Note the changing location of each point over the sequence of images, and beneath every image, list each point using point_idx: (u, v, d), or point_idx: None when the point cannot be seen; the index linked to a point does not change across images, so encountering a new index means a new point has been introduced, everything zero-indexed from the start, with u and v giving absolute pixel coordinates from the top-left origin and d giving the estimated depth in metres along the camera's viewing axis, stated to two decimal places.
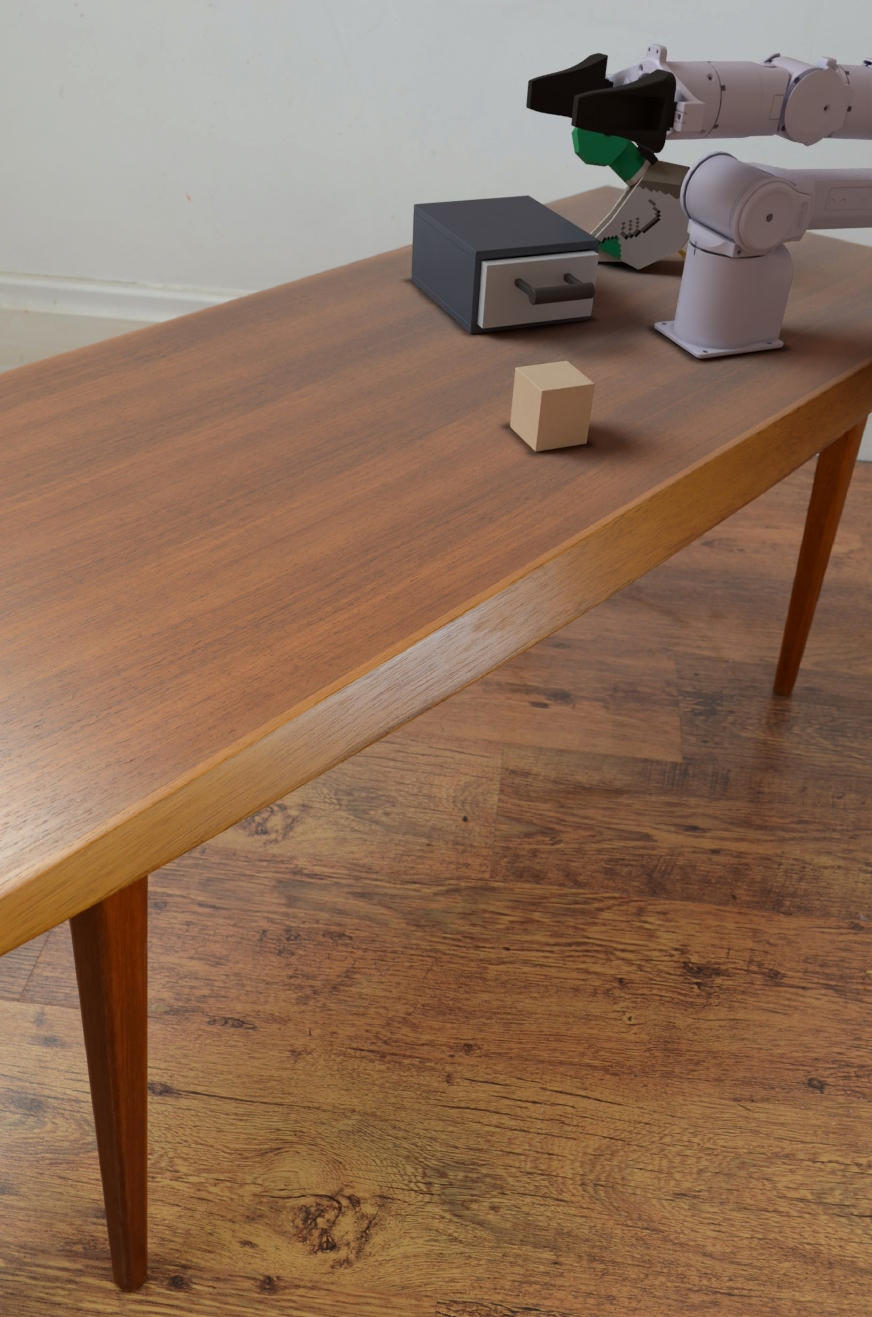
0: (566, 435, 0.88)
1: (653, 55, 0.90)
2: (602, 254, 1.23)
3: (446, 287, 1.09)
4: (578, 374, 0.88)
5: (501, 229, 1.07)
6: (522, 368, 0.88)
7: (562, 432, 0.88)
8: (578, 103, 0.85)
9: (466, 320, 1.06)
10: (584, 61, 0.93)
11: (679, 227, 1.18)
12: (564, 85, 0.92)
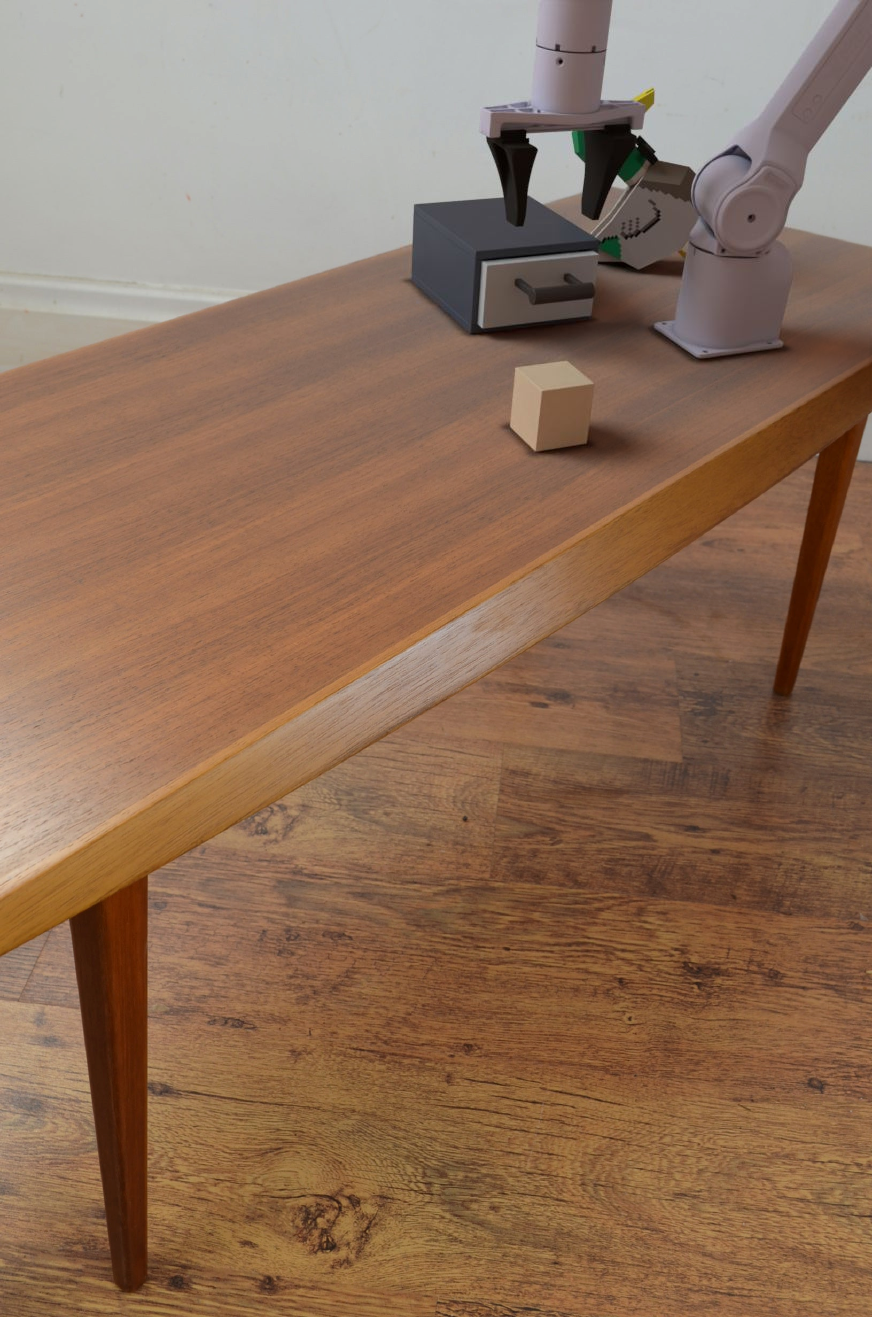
0: (566, 435, 0.88)
1: None
2: (602, 254, 1.23)
3: (446, 287, 1.09)
4: (578, 374, 0.88)
5: (501, 229, 1.07)
6: (522, 368, 0.88)
7: (562, 432, 0.88)
8: (508, 220, 1.00)
9: (466, 320, 1.06)
10: None
11: (679, 227, 1.18)
12: (589, 179, 1.00)
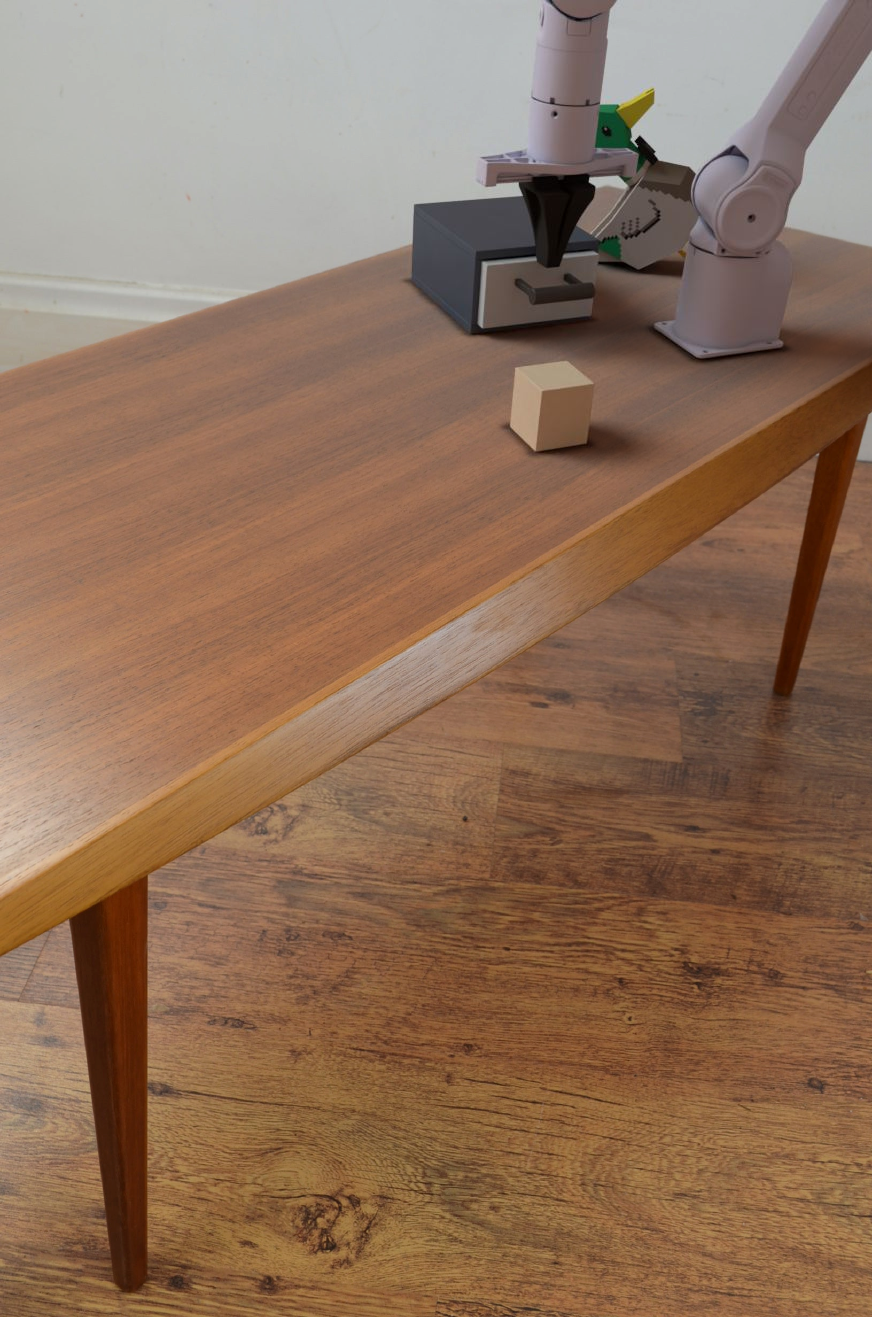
0: (566, 435, 0.88)
1: None
2: (602, 254, 1.23)
3: (446, 287, 1.09)
4: (578, 374, 0.88)
5: (501, 229, 1.07)
6: (522, 368, 0.88)
7: (562, 432, 0.88)
8: (538, 261, 1.03)
9: (466, 320, 1.06)
10: None
11: (679, 227, 1.18)
12: None
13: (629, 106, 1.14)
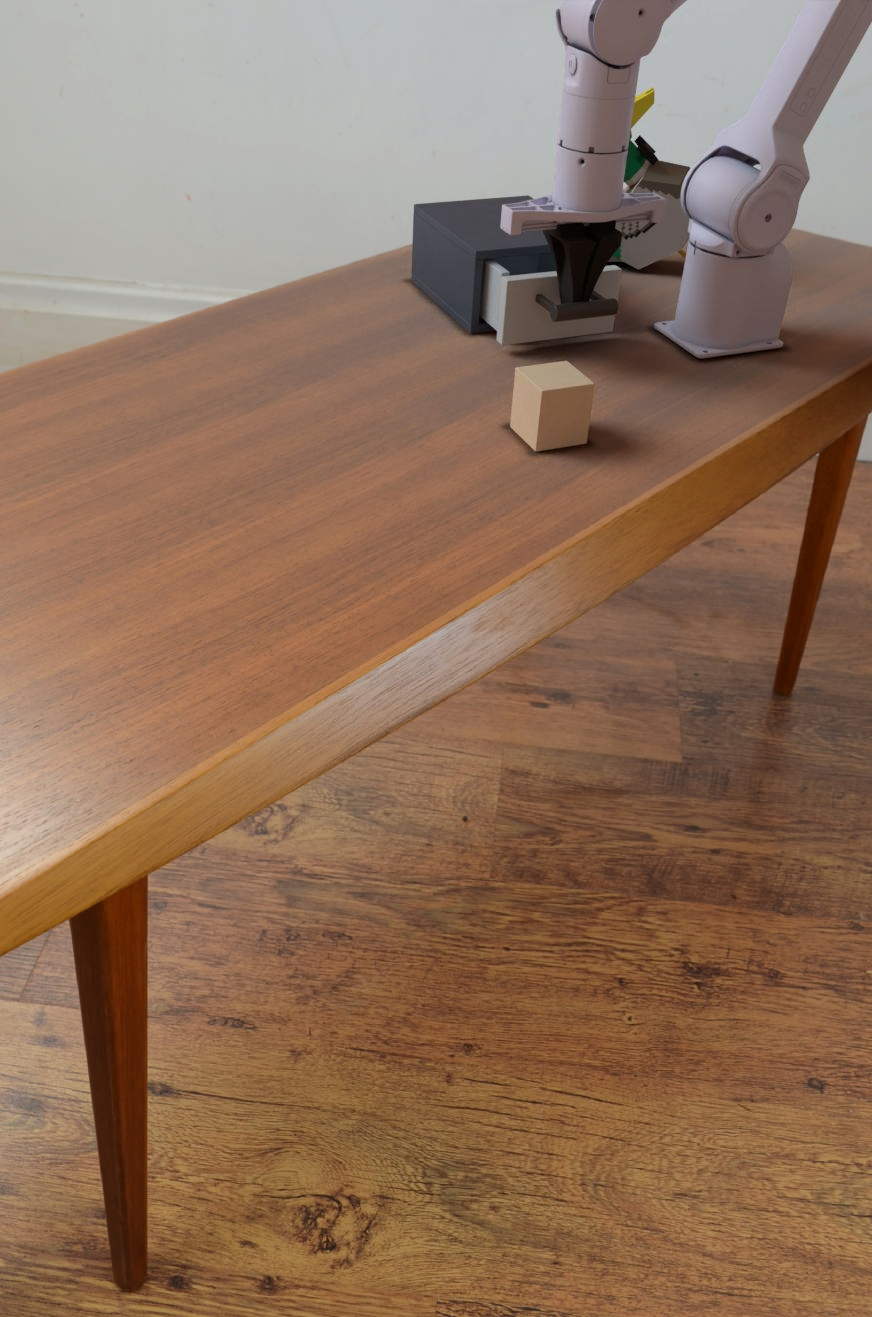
0: (566, 435, 0.88)
1: None
2: None
3: (446, 287, 1.09)
4: (578, 374, 0.88)
5: (501, 229, 1.07)
6: (522, 368, 0.88)
7: (562, 432, 0.88)
8: None
9: (466, 320, 1.06)
10: None
11: (679, 227, 1.18)
12: None
13: None
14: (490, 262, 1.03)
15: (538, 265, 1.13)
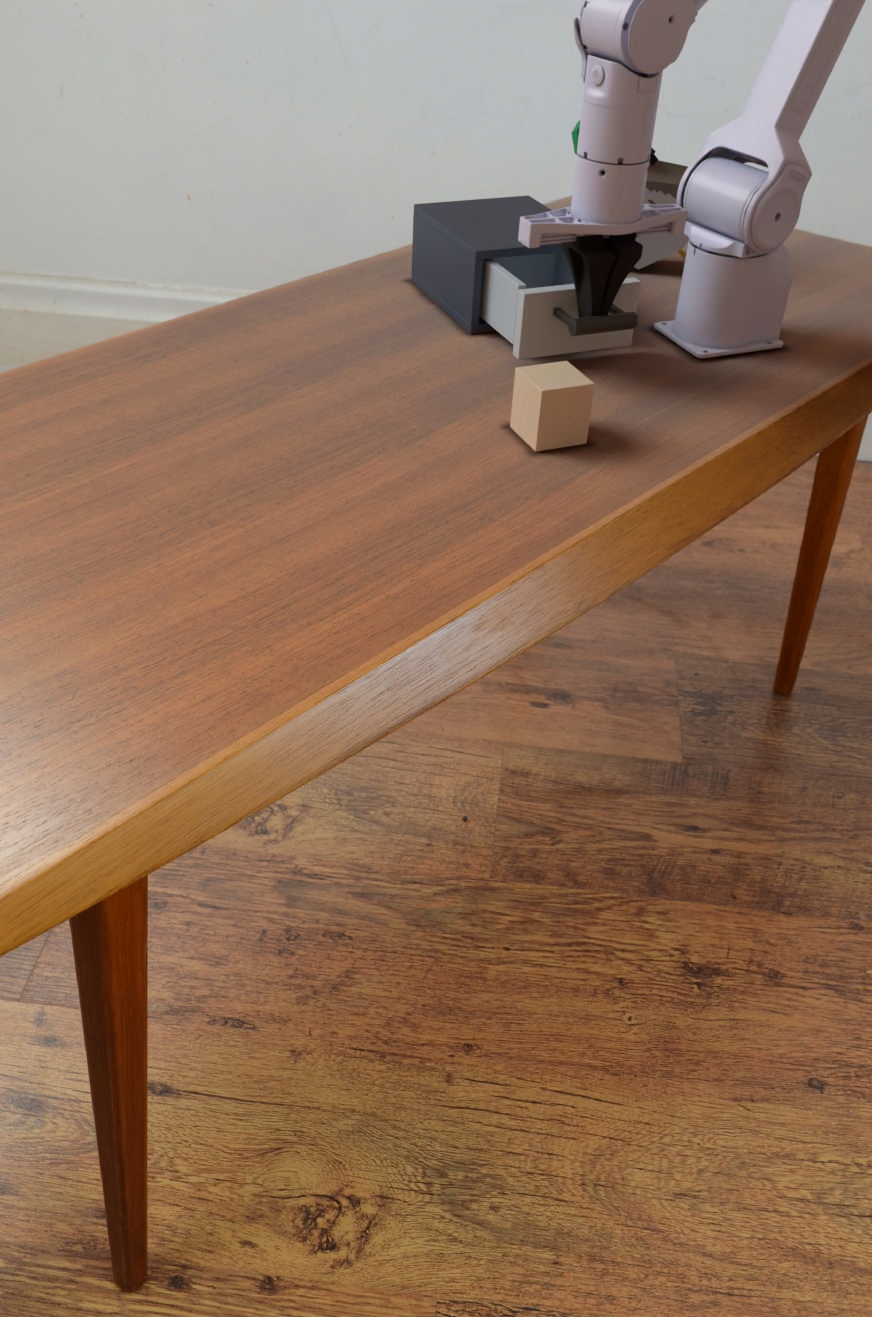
0: (566, 435, 0.88)
1: None
2: None
3: (446, 287, 1.09)
4: (578, 374, 0.88)
5: (501, 229, 1.07)
6: (522, 368, 0.88)
7: (562, 432, 0.88)
8: None
9: (466, 320, 1.06)
10: None
11: None
12: None
13: None
14: (506, 274, 1.00)
15: (554, 276, 1.11)
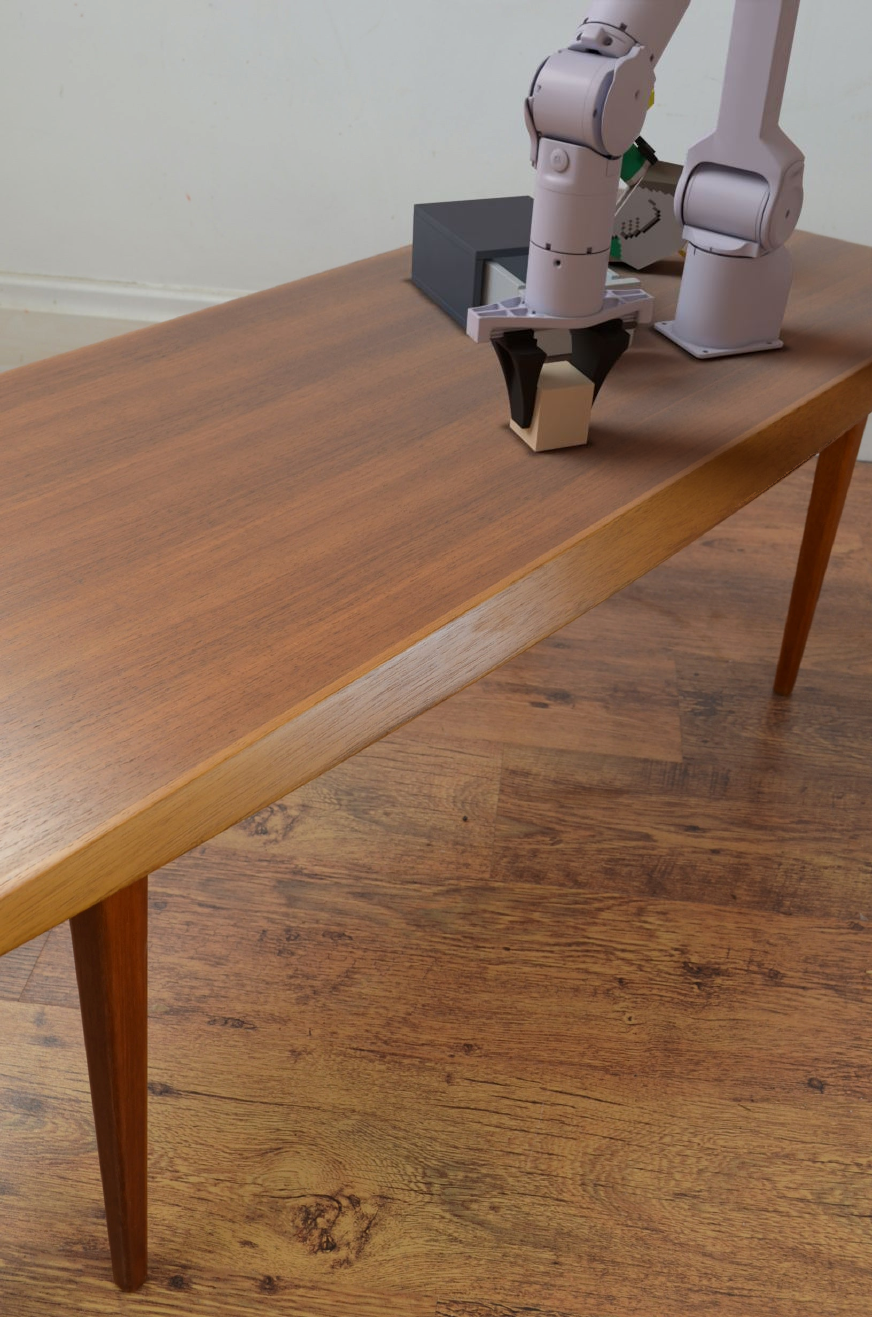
0: (566, 435, 0.88)
1: None
2: None
3: (446, 287, 1.09)
4: (578, 374, 0.88)
5: (501, 229, 1.07)
6: None
7: (562, 432, 0.88)
8: (513, 419, 0.89)
9: (466, 320, 1.06)
10: None
11: (679, 227, 1.18)
12: None
13: None
14: (506, 274, 1.00)
15: None
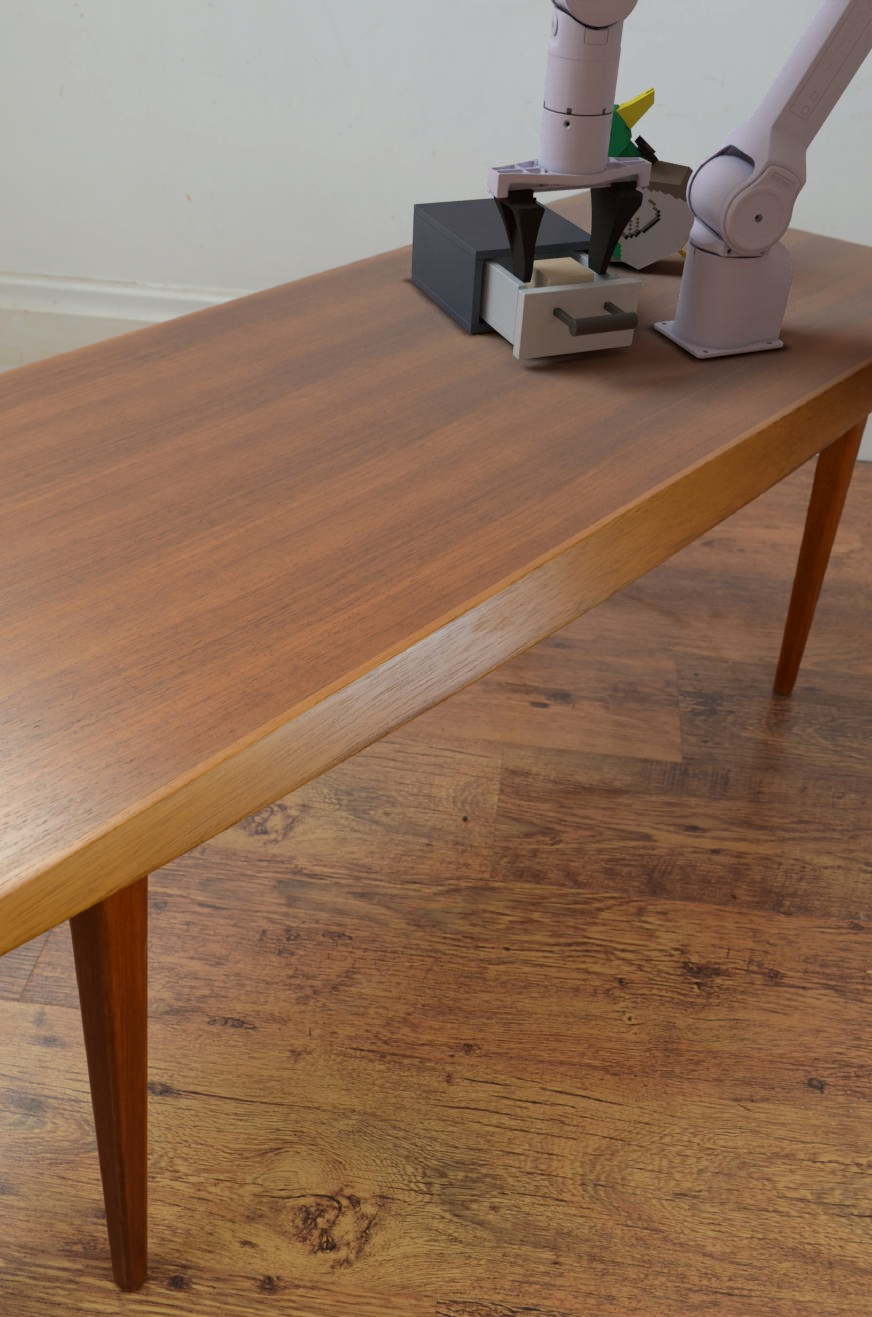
0: None
1: None
2: None
3: (446, 287, 1.09)
4: (580, 266, 1.01)
5: (501, 229, 1.07)
6: None
7: None
8: (515, 276, 1.00)
9: (466, 320, 1.06)
10: None
11: (679, 227, 1.18)
12: (596, 234, 1.01)
13: (629, 106, 1.14)
14: (506, 274, 1.00)
15: None
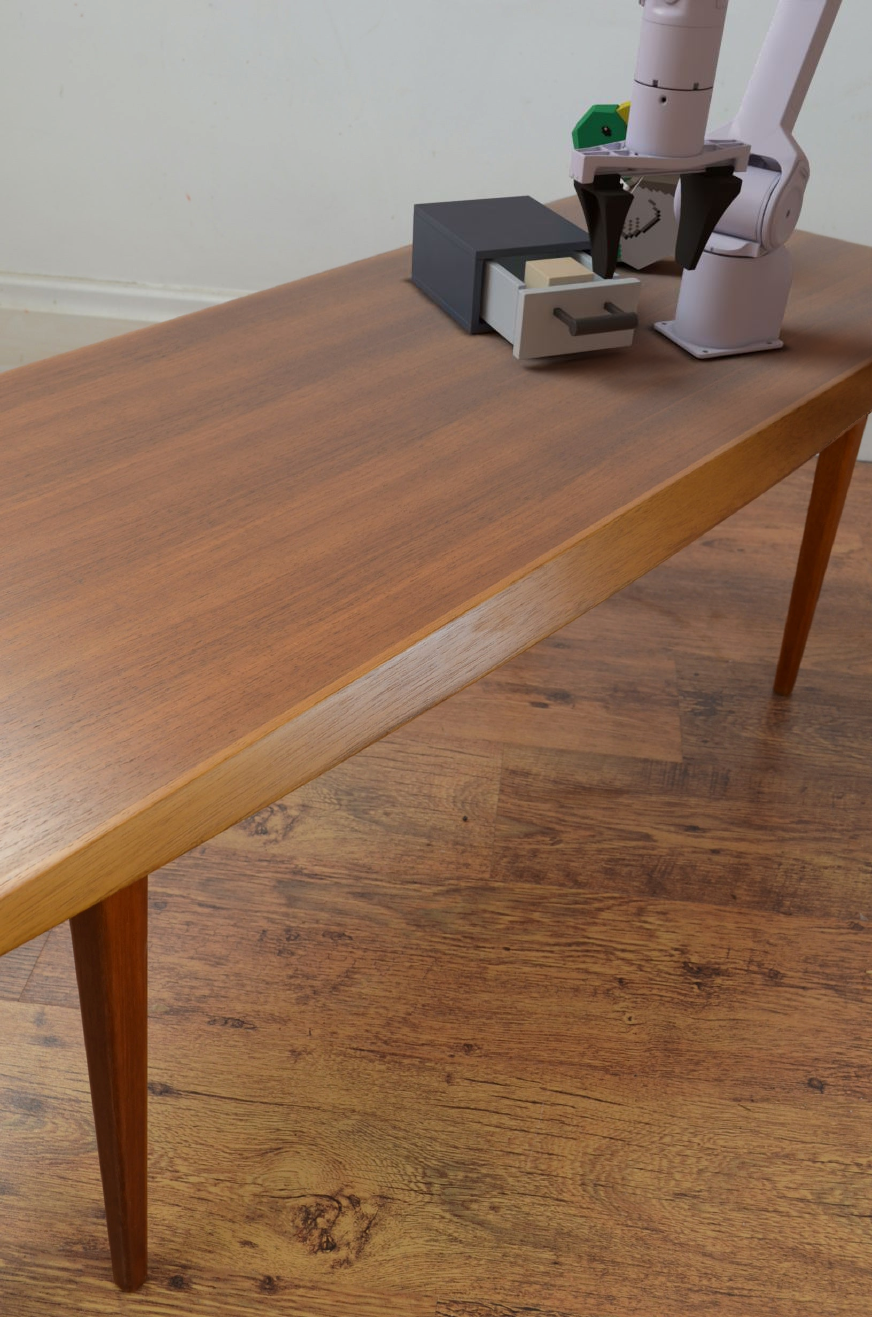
0: None
1: None
2: None
3: (446, 287, 1.09)
4: (580, 266, 1.01)
5: (501, 229, 1.07)
6: (532, 262, 1.02)
7: None
8: (594, 272, 0.90)
9: (466, 320, 1.06)
10: None
11: None
12: (685, 225, 0.91)
13: (629, 106, 1.14)
14: (506, 274, 1.00)
15: None
